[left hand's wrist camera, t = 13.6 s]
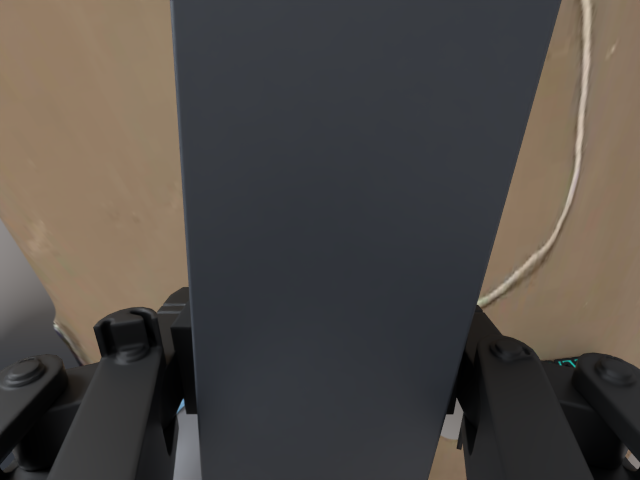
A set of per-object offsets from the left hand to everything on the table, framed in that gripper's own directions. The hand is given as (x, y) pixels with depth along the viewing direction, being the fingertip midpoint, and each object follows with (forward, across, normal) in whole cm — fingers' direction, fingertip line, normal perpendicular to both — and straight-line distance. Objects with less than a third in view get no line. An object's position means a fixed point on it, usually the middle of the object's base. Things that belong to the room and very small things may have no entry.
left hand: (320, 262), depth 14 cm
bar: (+1, -1, -8) cm, 8 cm away
